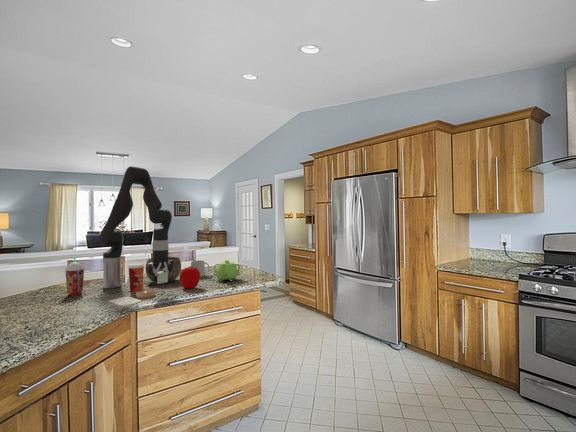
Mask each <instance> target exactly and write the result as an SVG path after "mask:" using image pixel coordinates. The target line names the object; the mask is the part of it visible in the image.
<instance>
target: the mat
mask: <svg viewBox="0 0 576 432" xmlns="http://www.w3.org/2000/svg"><path fill="white" fill-rule="evenodd" d="M138 302H142V300H141V299H139V298H136V297H131V296H128V295H127V296H122V297H118V298H114V299H109V300H108V303H111V304H112V303H113V304H115V305H118V306H121V307H123V306H126V305H130V304H133V303H134V304H135V303H138Z"/></svg>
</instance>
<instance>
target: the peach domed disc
mask: <svg viewBox="0 0 576 432" xmlns="http://www.w3.org/2000/svg"><path fill="white" fill-rule="evenodd" d="M155 296H156V290H155V289H153V288H146V289H144V288H143V290H139V291H136V292H135V299H150V298H155Z"/></svg>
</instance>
